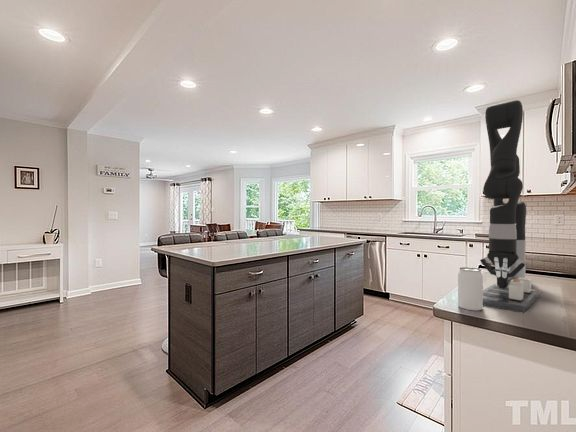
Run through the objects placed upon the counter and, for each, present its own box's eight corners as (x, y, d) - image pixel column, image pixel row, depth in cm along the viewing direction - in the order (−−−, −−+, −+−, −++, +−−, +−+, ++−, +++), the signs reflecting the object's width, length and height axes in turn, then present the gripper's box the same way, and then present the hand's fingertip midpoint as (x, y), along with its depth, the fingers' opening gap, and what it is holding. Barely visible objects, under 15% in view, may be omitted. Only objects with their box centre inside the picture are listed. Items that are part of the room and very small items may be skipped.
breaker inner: (520, 289, 100) (520, 277, 100) (531, 290, 98) (531, 278, 98) (517, 290, 98) (518, 278, 98) (529, 292, 96) (529, 280, 96)
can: (486, 311, 86) (486, 271, 85) (462, 310, 87) (462, 270, 87) (477, 304, 92) (477, 267, 92) (454, 303, 93) (454, 266, 93)
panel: (494, 288, 110) (494, 283, 110) (539, 296, 100) (539, 289, 100) (473, 302, 94) (473, 295, 94) (523, 313, 84) (523, 305, 84)
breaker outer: (511, 296, 92) (511, 283, 92) (523, 298, 90) (523, 284, 90) (508, 298, 91) (508, 284, 90) (520, 300, 88) (521, 286, 88)
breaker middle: (512, 292, 97) (512, 278, 97) (523, 293, 95) (523, 280, 95) (510, 293, 95) (510, 280, 95) (521, 295, 93) (521, 281, 93)
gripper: (530, 237, 95) (530, 290, 95) (483, 235, 105) (483, 282, 105) (524, 239, 90) (524, 294, 90) (476, 236, 100) (476, 286, 101)
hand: (502, 288), depth 98 cm, fingers closed
